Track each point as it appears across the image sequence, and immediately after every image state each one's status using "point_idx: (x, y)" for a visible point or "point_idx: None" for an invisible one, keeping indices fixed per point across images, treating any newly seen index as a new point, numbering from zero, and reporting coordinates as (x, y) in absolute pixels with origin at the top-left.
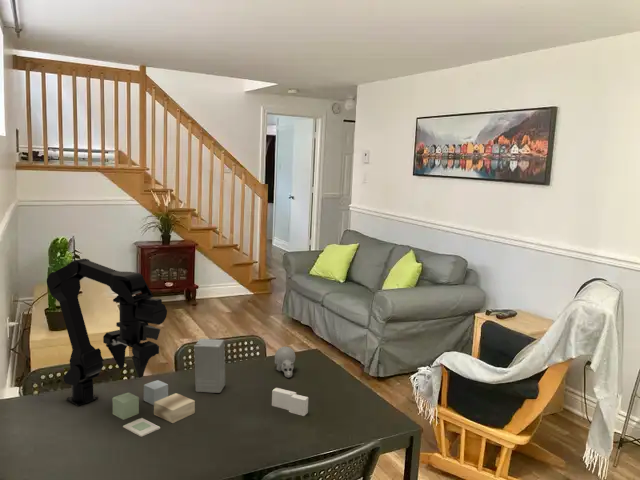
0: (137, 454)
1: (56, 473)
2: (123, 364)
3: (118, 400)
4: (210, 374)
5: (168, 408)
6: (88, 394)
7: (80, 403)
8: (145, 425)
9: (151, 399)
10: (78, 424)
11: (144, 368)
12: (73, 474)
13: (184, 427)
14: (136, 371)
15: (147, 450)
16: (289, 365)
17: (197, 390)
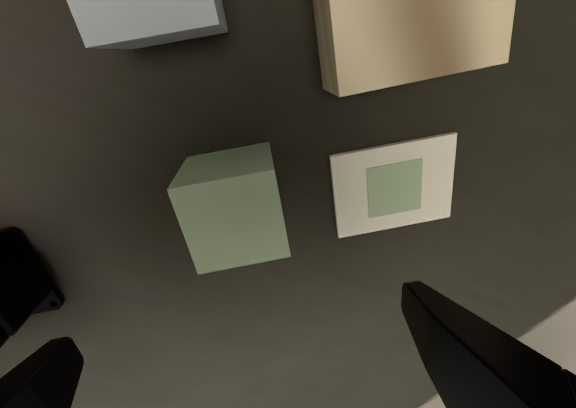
0: (518, 260)
1: (425, 400)
2: (43, 372)
3: (248, 263)
4: None
5: (470, 69)
6: (28, 298)
7: (55, 299)
8: (403, 176)
9: (199, 34)
10: (222, 328)
11: (515, 352)
12: None
13: (534, 36)
14: (445, 393)
15: (527, 231)
16: None
17: None
